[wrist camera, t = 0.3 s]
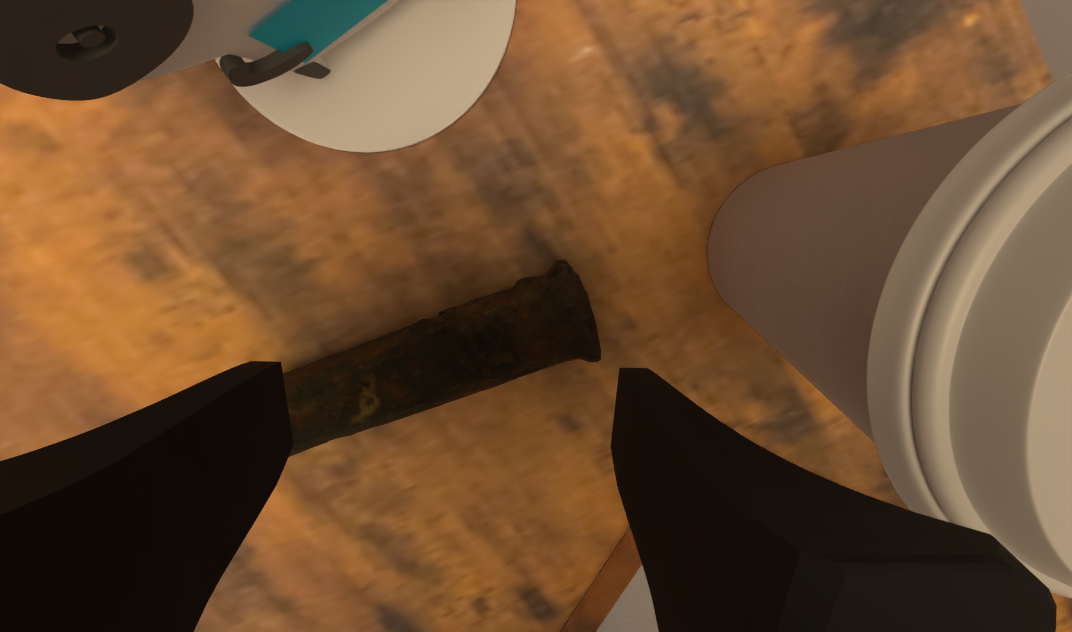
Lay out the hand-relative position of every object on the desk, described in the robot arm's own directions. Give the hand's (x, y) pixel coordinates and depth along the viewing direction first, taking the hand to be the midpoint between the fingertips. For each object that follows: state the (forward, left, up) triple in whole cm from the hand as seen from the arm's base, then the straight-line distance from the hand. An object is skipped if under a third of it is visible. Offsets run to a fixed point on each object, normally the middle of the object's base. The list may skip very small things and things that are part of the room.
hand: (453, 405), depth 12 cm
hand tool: (-5, +2, -11) cm, 13 cm away
